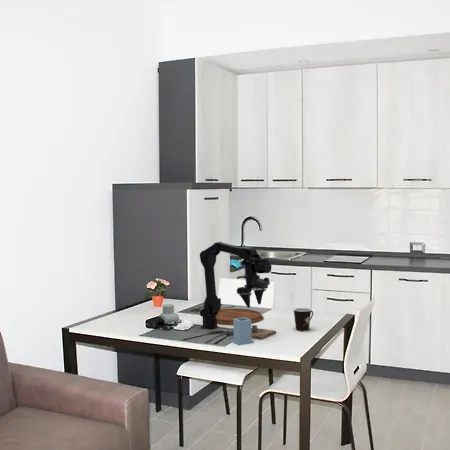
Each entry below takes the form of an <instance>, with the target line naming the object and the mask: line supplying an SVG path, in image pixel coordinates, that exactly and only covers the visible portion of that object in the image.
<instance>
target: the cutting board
mask: <svg viewBox="0 0 450 450" xmlns="http://www.w3.org/2000/svg"><path fill="white" fill-rule="evenodd" d="M216 318H217V325H220V326H221V325H222V326H233V319H237V318H247V319H250V320H251V325H253V324H257V323H260V322H262V321H263V320H264V316H263V314H262V313H261V312H260V311H257V310H252V309H249V308H248V309H246V308H225V309H224V308H223V309H220V310H219V312H218V314H217V315H216Z"/></svg>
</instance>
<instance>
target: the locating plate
mask: <svg viewBox="0 0 450 450" xmlns="http://www.w3.org/2000/svg"><path fill="white" fill-rule="evenodd" d="M275 334H277V330H274V329H265V328H258V325H256V324H254V325H253V324H252V325H251V339H253V340H254V339H255V340H261V341H262V340H264V339H266V338H267V339H268V338H269V337H271V336H273V335H275ZM232 336H233V337H234V332H232Z"/></svg>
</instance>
